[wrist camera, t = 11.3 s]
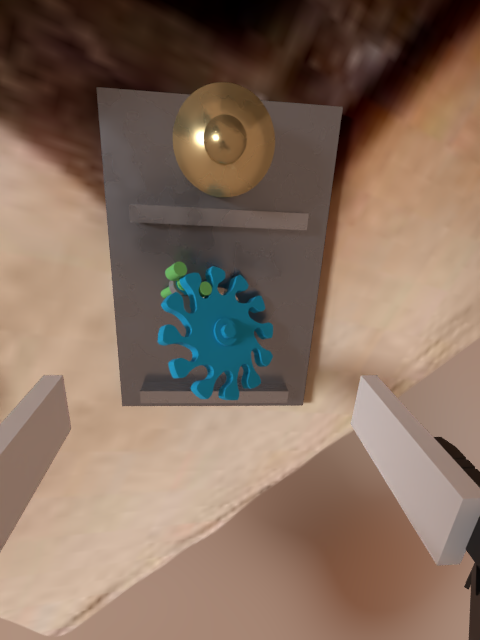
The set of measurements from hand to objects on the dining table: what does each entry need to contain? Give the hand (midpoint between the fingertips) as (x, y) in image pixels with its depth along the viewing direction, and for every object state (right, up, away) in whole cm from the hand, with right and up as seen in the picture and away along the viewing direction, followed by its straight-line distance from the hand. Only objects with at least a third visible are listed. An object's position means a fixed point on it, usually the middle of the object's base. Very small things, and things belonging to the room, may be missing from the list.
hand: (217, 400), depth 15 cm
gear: (-1, +4, +13) cm, 14 cm away
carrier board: (-1, +8, +13) cm, 15 cm away
